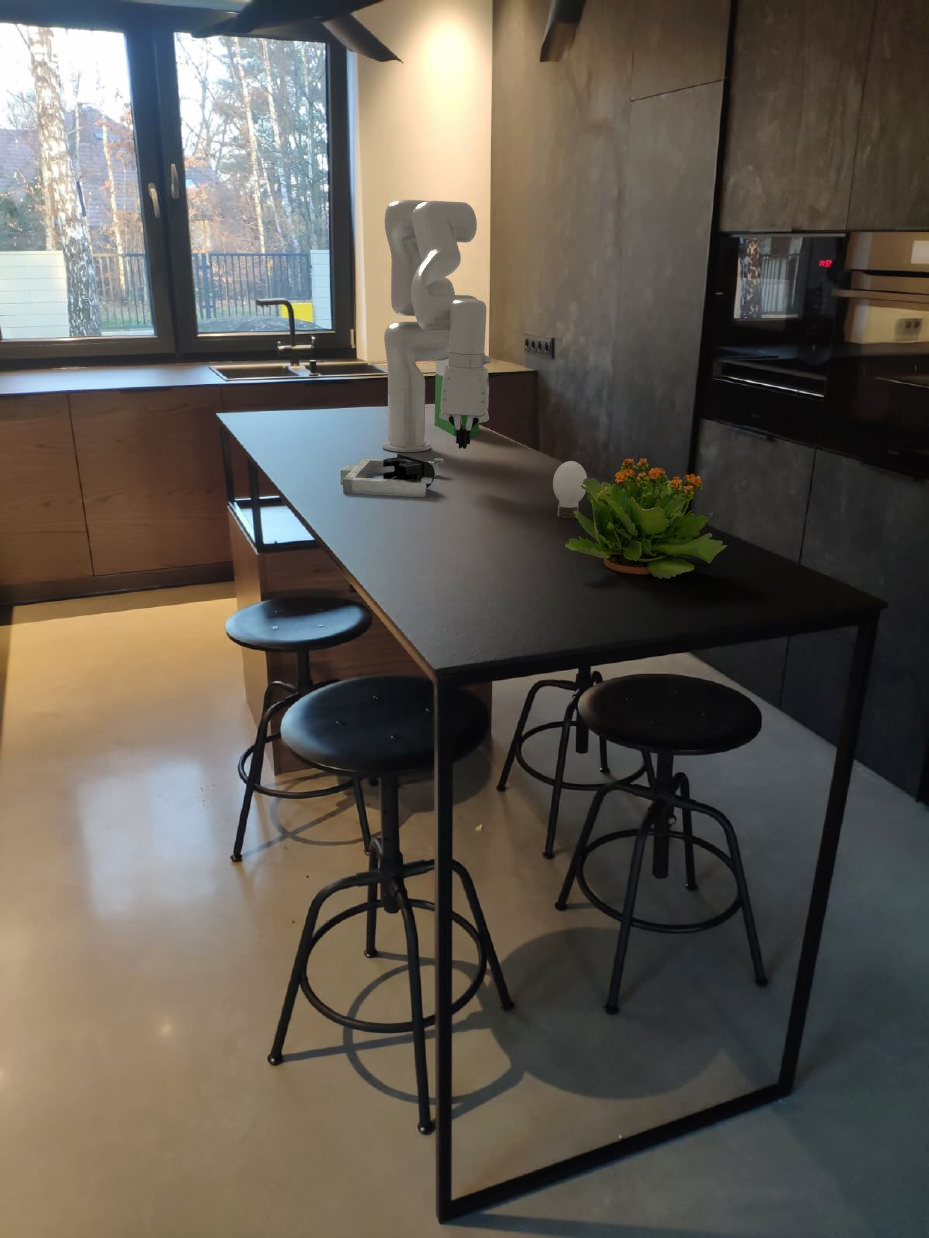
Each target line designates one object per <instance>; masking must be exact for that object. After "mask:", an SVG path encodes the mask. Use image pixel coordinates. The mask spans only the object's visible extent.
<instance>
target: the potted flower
mask: <svg viewBox="0 0 929 1238" xmlns="http://www.w3.org/2000/svg"><path fill="white" fill-rule="evenodd" d="M647 460H648V459H647V458H640V459H639V462H638V463H636V465H635V463H634V458H632V459H631V458H627V459H624V460H623V463H622V466H621V467H620V468H621V469H620V471H618V472H616V474H615V476H614V477H615V479H614V481H615V482H616V483H617V484H615V483H613V484H611V483H609V482H607V481H604V482H601V483H600V481H599V480H598V479H596V478H589V477H587V478H586V479H584V481H583V484H584V485H586V486H585V487H584V486H583V485H581V487H582V488H583V489H584V490H585V491H586V492H587V494H588V495H587V498H588V500H589V502H590V503H591V505H592V506H591V507H592V514H593V521H592V520H591V519H588V517H587V516H586V515H583V514H582V513H581V512H580V511H578V512H577V511H574V514H575V515H576V518H575V519H576V520H578V523H579V524H580V526H581V527H582V528H583V530H585V531H586V533H587V534H588V535H590V536H591V537H592V538H593V539H594V540H596V542H593V541H591V540H589V539H588V538H583V537H581V535H580V536H578V539H579V540H578V539H576V538H570V539H568V542H569V543H565V545H564V546H565V548H567V549H568V550H571V551H575V552H579V553H583V554H585V555H588V556H589V555H590V556H593V557H596V558H600V559H602V560H603V564H604V565H605V567H606V568H608V569H610V570H612V571H615V572H619V573H623V574H630V575H649V574H651V575H652V576H653V577H654V578H656V577H657V579H660V580H661V579H670V580H671V578H672V577H674V578H676V577H677V575H681V574H683V573H687V572H692V571H693V570H695V565H694V564H693V563H690V561H687V560H686V559H684V558H688V559H691V558H692V557H696V558H698V559H700V560H703V561H705V562H706V563H707V564H711V562H713V559H714V558H715V557H716V556H717V555H718V554H720V552H722V551H723V550H724V549H726V547H727V546H728V545H726V544H723V541H722V540H716V539H711V538H712V537H713V534H712V533H711V532H709V533H705V534H704V535H701V534H700V531H701V530H702V529H703V528H704V527H705V526H706V523H707V522H708V521H709V517H707V516H703V515H702V514H699V515H698V516H696V517H695V514H694V513H692V511H693V509H691V510H690V511H688V513H686V512H687V509H688V507H689V504H690V501H691V500H693V499H694V495H695V493H696V491H698V490H700V491H702V490H703V489H704V488H703V484H702V483H703V480H702V479H701V476H700V475H697V476H695V474H694V473H691V474H690V475H689V474H685V475H684V477H683V478H684V482H683V480H682V479H680V476H674V477H673V478H672V480H669V478H668V476H667V474H666V472H665V470H664V469H665V468H663V467H662V468H661V467H654V468H651V469H650V470H649V471H648V472H647V473H648V474H647V473H645V471H646V470H647V469H648V468H649V463H648V462H647ZM634 470H638V471H640V472H639V473H638V474H637V472H636V471H634ZM635 475H637V477H635ZM646 475H647V476H646ZM683 483H684V484H685V485H687V486H685V485H683ZM618 485H620V486H618ZM682 485H683V486H682ZM621 487H622V489H621ZM682 490H683V493H681V492H682ZM684 506H685V507H684ZM683 508H684V509H683ZM682 510H683V511H682ZM685 513H686V515H685ZM699 535H700V536H699ZM697 536H698V537H697ZM695 537H697V538H695ZM691 556H692V557H691ZM681 558H682V559H681Z"/></svg>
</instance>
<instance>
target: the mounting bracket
mask: <svg viewBox="0 0 929 1238" xmlns="http://www.w3.org/2000/svg"><path fill="white" fill-rule="evenodd" d="M384 459H385V458H370V457H369V458H367V457H365V458H362V459H361V460H360V461H359V462H357V464H356V465H350V464H349V465H348V464H347V465H344V466H343V467H342V468H341V469H340V484H341V485H342V493H343V494H351V495H353V494H355V495H372V496H374V495H375V496H391V497H409V498H410V497H413V498H425V497H426V496H427V489H426V483H427V484H431V482H432V478H426V477H422V479H421V481H411V480H392V479H383V478H370V477H369V476H370V474H379V475H380V474H381V475H383V473H384V472H391V471H393V470H394V466H388V467H383V460H384ZM426 461H427V462H429V463H430V464H432V466H433V468H434V471H435V477H437V476H438V474H439V465H443V463H444V458H437V457H436V458H433V461H429V460H426ZM368 477H369V478H368ZM432 483H433V482H432ZM431 485H432V484H431Z"/></svg>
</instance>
